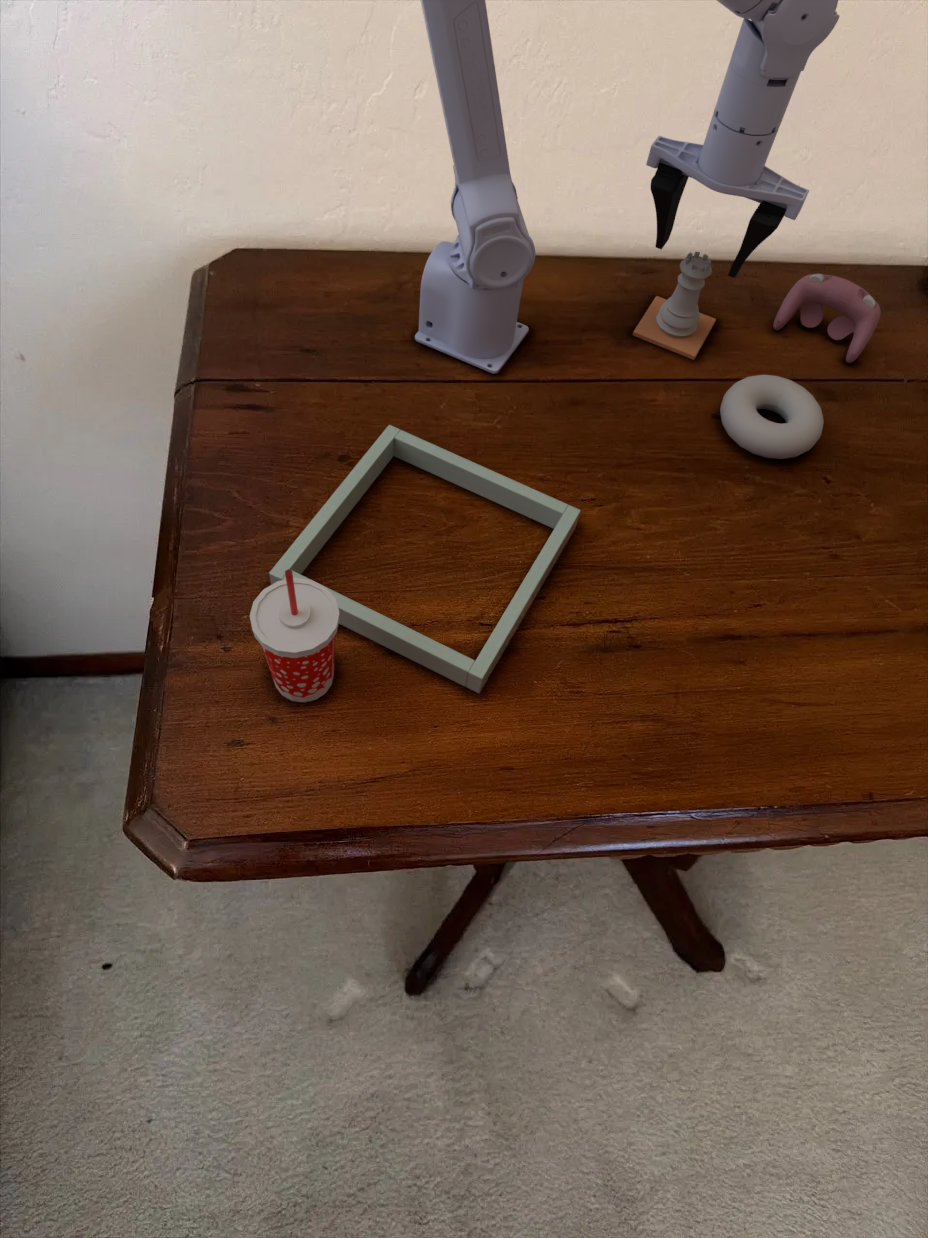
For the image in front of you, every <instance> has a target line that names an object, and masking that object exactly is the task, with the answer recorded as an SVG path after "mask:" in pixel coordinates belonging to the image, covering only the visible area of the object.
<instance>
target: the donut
mask: <svg viewBox="0 0 928 1238" xmlns="http://www.w3.org/2000/svg"><path fill="white" fill-rule="evenodd" d="M758 410H767V411H769V412H773V413H775V414H777V415H779V416H780V417H781V418H782V419H783V420H784V421H785V422H784V423H780V422H779V423H778V422H775V421H771V420H769V419H767V418H765V417H763V416H762V415H761V413H759V412H758ZM719 414H720V419H721V425H722V426H723V428H724V430H725V432H726V433H727V436H729V437H730V438H731V439H732V440H733V441H734V442H735V443H736V444H737V445H738V446H739V447H740V448H742V449H745V450H746V451H748V452H749V453H751V454H752V455H753V454H754V455H756V456H760V457H763V458H767V459H777V460H785V459H791V458H797V457H799V456H800V455H802V454H804V453H806V452H808V451H810V450H811V449H812V448H813V447H814V446H815V444H816V443H817V442H818V441H819V439H820V438H821V436H822V434H823V429H824V423H825V421H824V415H823V411H822V407H821V406H820V404H819V402H818V401H817V400H816V398H815V397H814V395H813V394H811V392H809V390H808V389H806V388H805V387H804V386H802V385H800V384H799V383H797V382H795V381H793V380H791V379H788V378H786V377H782V376H779V375H771V374H757V375H749V376H747V377H744V378H742V379H739V380H738V381H736V382H735V383H733V384H732V386H730V387H729V389H728V390H727V391H726V392H725V393H724V395H723V398H722V401H721V404H720V407H719Z"/></svg>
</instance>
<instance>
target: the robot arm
mask: <svg viewBox="0 0 928 1238" xmlns="http://www.w3.org/2000/svg"><path fill="white" fill-rule="evenodd" d="M716 1H717V3H719V4H721V5H722V6H723V7H724V8H726V9H727V10H729V11H730V12H731V13H732V14H734V15H735V16H737V17H739V18H742V22H741V25H740V28H739V32H738V34H737V38H736V41H735V44H734V47H733V50H732V53H731V57H730V59H729V62H728V66H727V69H726V73H725V75H724V78H723V81H722V84H721V88H720V90H719V93H718V97H717V101H716V104H715V107H714V109H713V113H712V116H711V119H710V122H709V126H708V129H707V132H706V134H705V138H704V141H703V144H700V143H693V142H689V141H682V140H676V139H672V138H668V137H665V136H662V135H658V136H657V137H656V139H655V140H654V141H653V142H652V144H651V145H650V148H649V152H648V156H647V160H646V162H645V165H646V166H647V167H650V168H653V169H656V171H655V172H654V175H653V176H652V178H651V181H650V192H651V195H652V198H653V203H654V207H655V216H656V218H655V219H656V238H655V248H656V249H658V250H663V248H664V247H665V246H666V244H667V243H668V241H669V240H670V237H671V234H672V232H673V228H674V224H675V222H676V221H675V219H676V217H677V213H678V209H679V205H680V202H681V199H682V196H683V194H684V191H685V188H686V186H687V183H688V180H689V178H691V179H693V180H695V181H697V182H698V183H700V184H702V186H704V187H706V188H708V189H710V190H711V191H714V192H717V193H719V194H723V195H728V196H735V197H742V198H744V199H748V200H751V201H753V202H755V203H759V204H758V205H757V208H756V209H755V210H754V212H753V213H752V215H751V216H750V219H749V221H748V225H747V227H746V231H745V233H744V237H743V240H742V242H741V245H740V247H739V249H738V252H737V254H736V257H735V258H734V261H733V262H732V264H731V266H730V269H729V271H728V274H727V277H730V278H732V279H733V278H734V279H735V278H736V277H737V276H738V274H739V272H740V270H741V268H742V267H743V265H744V264H745V262H746V260H747V259H748V258H749V257H750V255H751V254H752V253H754V251H755V250H756V249H757V248H758V247H759V246H760V245H761V244H762V243H763V242H764V241H766V239H768V238H769V237H770V236H772V234H773V233H774V232H775V231H776V230H777V229H778V227H779V226H780V224H781V222H782V221H783V219H784V217H785V218H787V219H790V220H793V221H795V220H797V217H798V216H799V214H800V213H801V211H802V208H803V206H804V203H805V202H806V199H807V197H808V195H809V192H810V189H807V188H805V187H802V186H800V185H798V184H796V183H794V182H792V181H791V180H790V179H787V178H785V177H784V176H783V175H780V173H777V172H776V171H774V170H773V169H771V168H770V167H768V166H766V163H767V161H768V157H769V155H770V153H771V150H772V147H773V145H774V142H775V140H776V137H777V135H778V132H779V129H780V127H781V125H782V122H783V119H784V117H785V114H786V112H787V109H788V107H789V104H790V101H791V99H792V97H793V93H794V92H795V88H796V86H797V83H798V80H799V78H800V76H801V72H804V70H805V68H806V65H807V63H808V60H809V58H810V56H811V54H812V53H813V52H814V51H815V50H816V49H817V48H818V47H819V46H821V44H822V43H823V42H825V40H826V39H827V38H828V37H829V35H830V34H831V33H832V31H833V30H834V28H836V25H837V24H838V22H839V19H840V14H838V12H837V8H838V4H839V0H716ZM420 4H421V10H422V14H423V19H424V25H425V29H426V30H425V31H426V34H427V39H428V44H429V49H430V54H431V59H432V63H433V70H434V73H435V74H434V75H435V79H436V83H437V88H438V94H439V98H440V103H441V108H442V113H443V118H444V123H445V128H446V133H447V134H446V135H447V138H448V143H449V148H450V153H451V158H452V163H453V165H452V170H453V174H454V188H453V191H452V194H451V198H450V211H451V215H452V217H453V219H454V222H455V225H456V228H457V231H458V235H457V236H456V239H455V241H454V242H450V241H444V240H443V241H440V242H438V243H437V245H436V246H435V247H434V248H433V250H431V253H430V254H429V256H428V258H427V260H426V262H425V266H424V268H423V271H422V274H421V275H422V276H421V282H420V293H419V312H418V314H419V315H418V331H417V332H416V333H415V335H414V340H415V342H418V343H419V344H422V345H424V346H426V347H430V348H431V349H434V350H436V351H439V352H440V353H442V354H446V355H448V356H450V357H452V358H454V359H458V360H460V361H461V362H465V363H467V364H469V365H472V366H473V367H477V368H479V369H481V370H483V371H486V372H488V373H490V374H493V375H494V374H498V373H499V372H500V371H501V369H502V368H503V367H504V366H505V364H506V363H507V361H509V359H510V357H511V356H512V355H513V353H514V352H515V351H516V349H518V347H519V345H520V344H521V342H522V341H523V340H524V338H526V336H527V335H528V333H529V331H530V329H529V327H528V325H525V324H524V323H521V322H518V316H519V309H520V305H521V297H522V292H523V286H524V279H525V278H526V277H527V276H528V275H529V274H530V272H531V271H532V269H533V267H534V264H535V260H536V253H537V252H536V246H535V244H534V241H533V240H534V239H532V237H531V236H530V235H529V231H528V228H527V224H526V221H525V219H524V215H523V211H522V209H521V207H520V204H519V200H518V199H519V198H518V194H517V193H518V192H517V189H516V186H515V184H514V182H513V179H512V175H511V170H510V169H511V168H510V162H509V156H508V155H509V154H508V149H507V142H506V135H505V134H506V133H505V126H504V120H503V114H502V113H503V112H502V107H501V106H502V105H501V100H500V92H499V86H498V80H497V79H498V78H497V72H496V66H495V57H494V52H493V45H492V37H491V31H490V24H489V17H488V16H489V15H488V11H487V3H486V0H420Z"/></svg>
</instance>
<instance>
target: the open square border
mask: <svg viewBox="0 0 928 1238" xmlns="http://www.w3.org/2000/svg"><path fill="white" fill-rule="evenodd" d="M393 457H394V458H397V459H399V460H401V461H403V462H406V463H408V464H410V465H412V466H414V467H417V468H418V469H421V470H424V471H425V472H427V473H429V474H432V475H434V476H437V477H438V478H441V479H443V480H445V481H447V482H450V483H452V484H454V485H456V486H458V487H461V488H463V489H465V490H467V491H469V492H471V493H474V494H476V495H479V496H481V497H483V498H485V499H487V500H489V501H491V502H494V503H495V504H498V505H500V506H503V507H505V508H507V509H509V510H511V511H514V512H516V513H518V514H520V515H522V516H525V517H527V518H529V519H531V520H533V521H536V522H537V523H540V524H542V525H545V527H546V526H547V527H549V528H551V529H553V530H552V532H551V534H550V535H549V537H548V539H547V540H546V542H545V543H544V545H543V547H542V548H541V550H540V552H539V553H538V555H537V557H536V558H535V560H534V562H533V563H532V565H531V567H530V568H529V570H528V572H527V573H526V575H525V577H524V578H523V580H522V582H521V583H520V585H519V587H518V589H517V590H516V591H515V594H514V595H513V597H512V598H511V601H510V602H509V603H508V605H507V607H506V609H505V610H504V612H503V613H502V615H501V617H500V619H499V620H498V622H497V624H496V626H495V627H494V629H493V631H492V632H491V634H490V636H489V637H488V638H487V640H486V642H485V643H484V645H483V647H482V649H481V651H480V652H479V654H478V655H477V657H476V659H475V660H474V659H473V658H471V657H469V656H467V655H464V654H463V653H460V652H459V651H457V650H455V649H453V648H450V647H449V646H446V645H444V644H442V643H440V642H438V641H436V640H434V639H433V638H431V637H429V636H427V635H424V634H422V633H421V632H418V631H416V630H414V629H412V628H410V627H409V626H406V625H404V624H402V623H400V622H398V621H395V620H394V619H392V618H390V617H388V616H386V615H384V614H381V613H379V612H378V611H376V610H374V609H372V608H369V607H368V606H366V605H363V604H361V603H359V602H358V601H355V600H353V599H351V598H349V597H347V596H345V595H343V594H341V593H339V592H337V591H335V590H333V589H330V588H329V587H328V586H325V587H326V588H327V589H328V590H329V591H330V593H331V594H332V595H333V596H334V597H335V598H336V601H337V605H338V609H339V613H340V615H339V623H338V625H341V626H343V627H345V628H347V629H348V630H351V631H352V632H354V633H357V634H359V635H360V636H362V637H365V638H366V639H369V640H371V641H373V642H375V643H376V644H379V645H381V646H383V647H385V648H387V649H389V650H391V651H392V652H395V653H397V654H399V655H401V656H403V657H405V658H407V659H409V660H410V661H413V662H415V663H417V664H419V665H421V666H423V667H425V668H426V669H428V670H431V671H433V672H435V673H437V674H439V675H440V676H443V677H445V678H447V679H449V680H451V681H452V682H454V683H456V684H458V685H461V686H463V687H466V688H467V689H468V690H470V691H473V692H475V693H477V694H480V693H481V691H482V690H483V688H484V686H485V684H486V683H487V681H488V680H489V678H490V677H491V674H492V673H493V670H494V669H495V668H496V666H497V664H498V662H499V661H500V659H501V657H502V656H503V654H504V652H505V650H506V648H507V647H508V645H509V644H510V642H511V640H512V638H513V637H514V635H515V633H516V632H517V630H518V628H519V626H520V624H521V623H522V621H523V620H524V617H525V616H526V614H527V613H528V611H529V609H530V607H531V605H532V604H533V602H534V600H535V598H536V597H537V595H538V593H539V591H540V590H541V588H542V586H543V585H544V583H545V581H546V579H547V578H548V576H549V575H550V573H551V571H552V569H553V568H554V566H555V564H556V562H557V561H558V559H559V557H560V555H561V554H562V552H563V550H564V549H565V547H566V545H567V544H568V542H569V540H570V539H571V537H572V535H573V533H574V531H575V530H576V527H577V524H578V521H579V518H580V514H581V512H582V511H581V509H580V508H577V507H575V506H572V505H571V504H568V503H566V502H564V501H561V500H558V499H557V498H554V497H552V496H550V495H548V494H546V493H543V492H541V491H540V490H537V489H534V488H533V487H530V486H528V485H525V484H523V483H521V482H519V481H517V480H514V479H512V478H510V477H507V476H505V475H503V474H501V473H498V472H497V471H494V470H492V469H489V468H488V467H485V466H483V465H481V464H479V463H476V462H474V461H473V460H472V461H471V460H470V459H467V458H465V457H463V456H460V455H459V454H456V453H454V452H452V451H449V450H447V449H445V448H442V447H441V446H438V445H436V444H433V443H432V442H429V441H427V440H424V439H423V438H420V437H418V436H417V435H414V434H411V433H409V432H407V431H405V430H402V429H401V428H398V427H396V426H394V425H392V424H388V426H386V427H385V429H384V430H383V431H382V433H381V434H380V435H379V436H378V438H377V439H376V440H375V441H374V443H372V445H371V446H370V448H369V449H368V450H367V451H366V452H365V453H364V455H363V456H362V457H361V458H360V459H359V461H358V462H357V463H356V465H355V466H354V467H353V468H352V470H351V471H350V472H349V473H348V475H347V476H346V477H345V479H344V480H343V481H342V482H341V483H340V484H339V486H338V487H337V488H336V489H335V491H334V492H333V493H332V494H331V495H330V497H329V498H328V499H327V501H325V503H324V505H322V506H321V508H320V509H319V510H318V512H317V513H316V514H315V515H314V516H313V518H312V519H311V520H310V522H308V524H307V525H306V526H305V528H304V529H303V530H302V531H301V533H300V534H298V536H297V538H296V539H295V540H294V541H293V542H292V544H290V546H289V548H287V551H285V553H284V554H283V555H282V556H281V558H280V559H279V560H278V561H277V562H276V563H275V565H274V566H273V567H272V568H271V570H270V571H269V572H268V575H269V576H268V577H269V581H270V585H272V584H274V583H276V582H277V581H281V580H286V577H285V571H286V570H288V569H289V570H292V573H293V578H300V579H308V580H312V579H311V578H308V577H307V576H304V575H302V574H303V573H304V571H305V570H306V569H307V568H308V566H309V565H310V564H311V562H312V561H313V560H314V558H315V557H316V556H317V555H318V553H319V552H320V551H321V550H322V548H323V547H324V545H325V544H326V543H328V541H329V539H331V537H332V535H333V534H334V533H335V532H336V530H338V528H339V527H340V526H341V524H342V523H343V521H344V520H345V519H346V518H347V516H348V515H349V514H350V513H351V511H352V510H353V509H354V507H355V506H356V505H357V504H358V502H359V501H360V500H361V498H362V497H363V496H364V494H365V493H366V492H367V491H368V490H369V488H370V487H371V485H372V484H373V483H374V482H375V480H376V479H377V478H378V477H379V476H380V474H381V473H382V471H383V470H384V469H385V468H386V466H387V465H388V464H389V463H390V462H391V460H392V459H393Z"/></svg>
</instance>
